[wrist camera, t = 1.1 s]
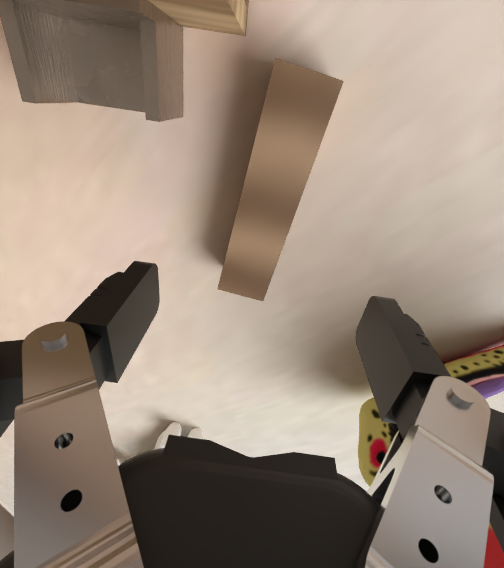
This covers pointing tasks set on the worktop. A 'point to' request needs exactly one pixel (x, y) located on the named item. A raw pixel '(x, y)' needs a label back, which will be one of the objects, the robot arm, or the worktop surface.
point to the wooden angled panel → (208, 14)
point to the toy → (379, 435)
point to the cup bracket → (97, 54)
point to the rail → (277, 174)
